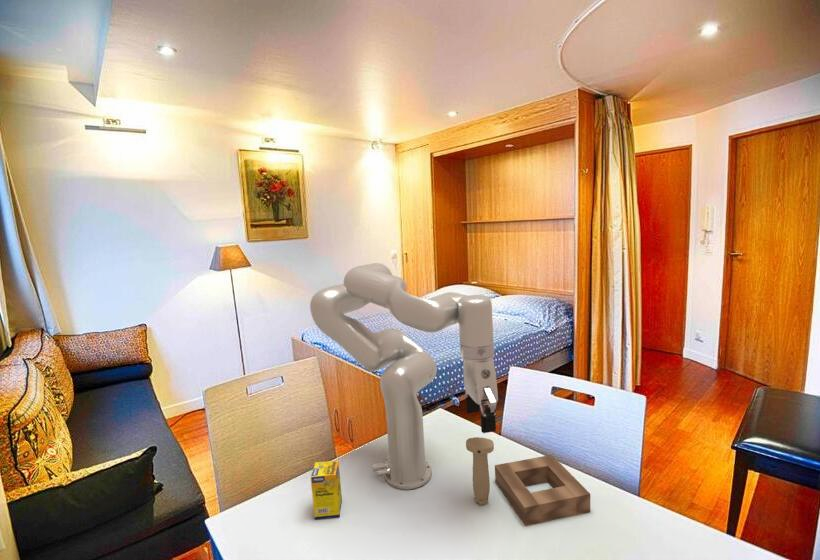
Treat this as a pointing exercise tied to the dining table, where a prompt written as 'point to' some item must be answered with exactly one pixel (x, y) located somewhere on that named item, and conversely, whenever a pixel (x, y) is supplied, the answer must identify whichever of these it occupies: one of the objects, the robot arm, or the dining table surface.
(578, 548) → the dining table surface
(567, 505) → the socket block
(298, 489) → the dining table surface
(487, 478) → the handle
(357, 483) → the dining table surface
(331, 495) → the supplement box
